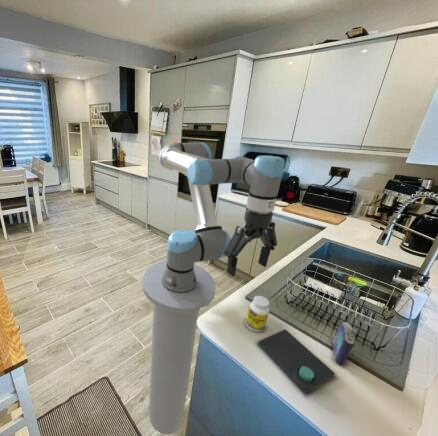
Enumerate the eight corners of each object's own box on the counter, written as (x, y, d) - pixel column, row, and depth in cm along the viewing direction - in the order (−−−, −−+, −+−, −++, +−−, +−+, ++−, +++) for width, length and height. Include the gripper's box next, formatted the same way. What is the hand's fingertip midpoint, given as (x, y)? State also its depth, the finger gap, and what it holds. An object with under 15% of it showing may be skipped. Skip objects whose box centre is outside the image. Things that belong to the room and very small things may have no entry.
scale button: (296, 372, 66) (297, 368, 65) (303, 368, 67) (305, 364, 66) (307, 383, 63) (308, 380, 63) (315, 378, 64) (316, 375, 64)
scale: (256, 344, 76) (258, 338, 75) (284, 332, 81) (286, 325, 80) (305, 397, 63) (309, 390, 61) (335, 378, 67) (339, 371, 66)
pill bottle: (242, 326, 83) (249, 302, 78) (247, 315, 87) (253, 291, 83) (262, 335, 80) (269, 310, 75) (265, 323, 84) (273, 299, 80)
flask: (332, 339, 79) (344, 316, 74) (343, 344, 77) (356, 320, 73) (333, 362, 71) (347, 337, 67) (346, 368, 70) (360, 343, 66)
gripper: (235, 220, 64) (224, 285, 72) (299, 208, 73) (283, 267, 81) (217, 210, 70) (209, 271, 78) (278, 200, 79) (265, 255, 88)
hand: (246, 269), depth 80 cm, fingers open, 13 cm apart
